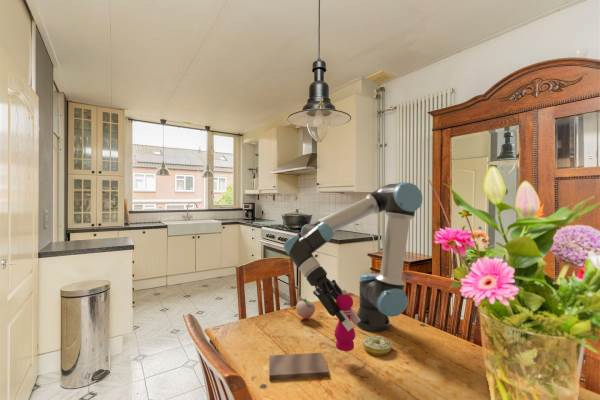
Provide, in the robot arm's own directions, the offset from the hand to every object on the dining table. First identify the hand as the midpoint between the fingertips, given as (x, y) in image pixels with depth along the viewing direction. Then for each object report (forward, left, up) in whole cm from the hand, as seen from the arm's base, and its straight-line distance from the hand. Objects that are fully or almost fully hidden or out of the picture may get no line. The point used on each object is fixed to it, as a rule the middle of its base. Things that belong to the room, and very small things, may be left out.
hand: (354, 325), depth 101 cm
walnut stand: (+20, 0, -14) cm, 24 cm away
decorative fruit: (+12, -40, -14) cm, 44 cm away
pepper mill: (+3, -2, -9) cm, 9 cm away
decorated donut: (-12, -9, -14) cm, 21 cm away
